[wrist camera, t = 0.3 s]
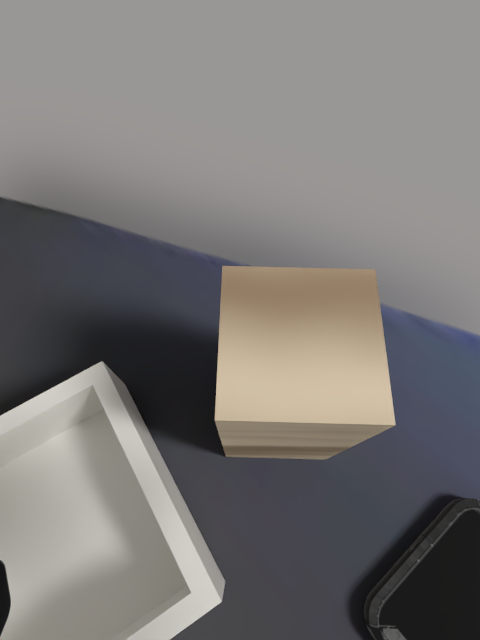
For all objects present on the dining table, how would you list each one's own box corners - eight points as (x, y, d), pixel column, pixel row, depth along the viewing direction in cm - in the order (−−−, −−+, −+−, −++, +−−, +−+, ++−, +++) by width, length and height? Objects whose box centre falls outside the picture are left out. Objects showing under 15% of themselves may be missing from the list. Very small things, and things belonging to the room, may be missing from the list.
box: (225, 581, 18) (221, 602, 14) (-8, 748, 16) (-82, 821, 12) (125, 384, 22) (102, 360, 18) (-76, 496, 20) (-148, 495, 16)
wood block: (325, 459, 20) (395, 425, 11) (226, 456, 20) (214, 420, 11) (319, 364, 22) (375, 269, 13) (229, 362, 22) (222, 266, 13)
